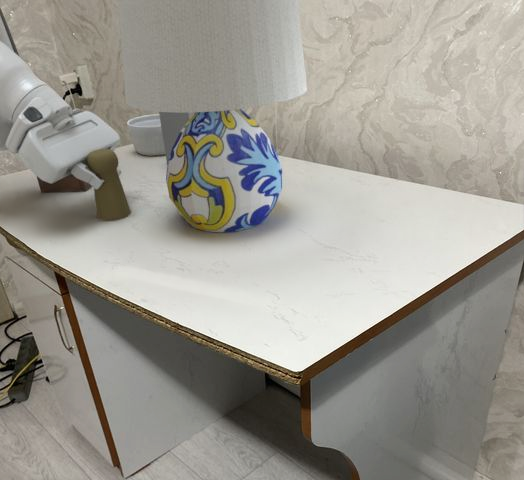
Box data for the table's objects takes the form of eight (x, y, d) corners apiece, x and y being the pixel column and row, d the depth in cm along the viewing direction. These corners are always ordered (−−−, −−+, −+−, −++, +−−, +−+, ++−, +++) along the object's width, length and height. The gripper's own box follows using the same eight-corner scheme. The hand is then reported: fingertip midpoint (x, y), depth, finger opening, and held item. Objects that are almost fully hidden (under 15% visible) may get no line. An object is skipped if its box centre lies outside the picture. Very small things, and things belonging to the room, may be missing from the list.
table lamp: (332, 199, 95) (338, -89, 73) (260, 261, 76) (238, -105, 53) (205, 184, 107) (176, -70, 84) (114, 234, 87) (44, -78, 65)
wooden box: (41, 192, 108) (32, 164, 105) (75, 166, 123) (68, 140, 120) (86, 191, 107) (78, 162, 104) (115, 165, 122) (109, 139, 119)
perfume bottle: (195, 169, 116) (184, 77, 105) (167, 168, 118) (153, 77, 107) (208, 160, 121) (198, 71, 110) (181, 159, 123) (168, 72, 112)
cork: (118, 205, 99) (105, 144, 93) (137, 212, 95) (125, 149, 89) (90, 215, 96) (74, 152, 89) (108, 223, 92) (93, 157, 86)
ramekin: (189, 153, 127) (185, 122, 123) (133, 160, 124) (127, 128, 120) (183, 140, 137) (179, 111, 133) (131, 146, 135) (125, 117, 131)
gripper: (74, 119, 99) (131, 175, 102) (-2, 149, 83) (67, 213, 86) (89, 93, 95) (147, 151, 98) (12, 119, 79) (84, 187, 82)
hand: (109, 180), depth 92 cm, fingers closed on cork, 4 cm apart
